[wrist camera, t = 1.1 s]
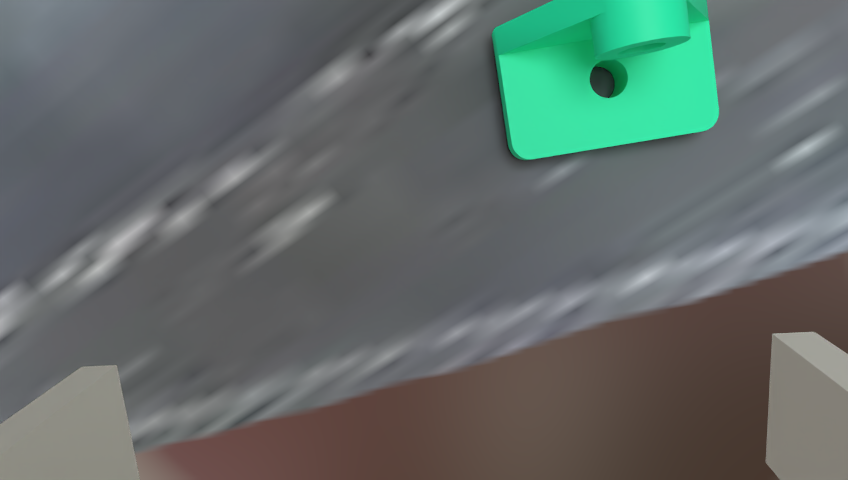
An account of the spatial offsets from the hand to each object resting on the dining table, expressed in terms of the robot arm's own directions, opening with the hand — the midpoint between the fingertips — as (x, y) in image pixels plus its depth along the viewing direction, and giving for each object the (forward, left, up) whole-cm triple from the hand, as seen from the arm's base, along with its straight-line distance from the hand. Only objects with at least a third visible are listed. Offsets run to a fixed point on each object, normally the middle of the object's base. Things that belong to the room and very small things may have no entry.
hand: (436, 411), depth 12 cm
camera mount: (-4, +14, -27) cm, 30 cm away
